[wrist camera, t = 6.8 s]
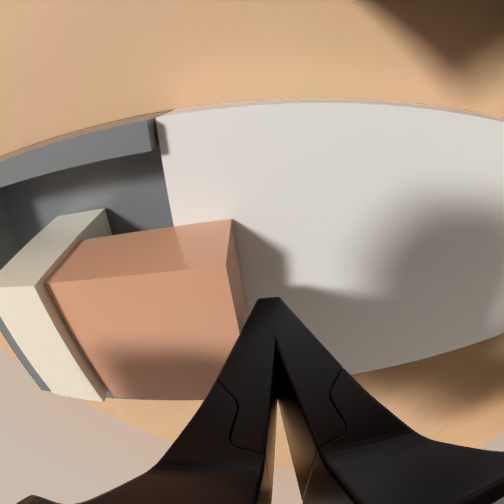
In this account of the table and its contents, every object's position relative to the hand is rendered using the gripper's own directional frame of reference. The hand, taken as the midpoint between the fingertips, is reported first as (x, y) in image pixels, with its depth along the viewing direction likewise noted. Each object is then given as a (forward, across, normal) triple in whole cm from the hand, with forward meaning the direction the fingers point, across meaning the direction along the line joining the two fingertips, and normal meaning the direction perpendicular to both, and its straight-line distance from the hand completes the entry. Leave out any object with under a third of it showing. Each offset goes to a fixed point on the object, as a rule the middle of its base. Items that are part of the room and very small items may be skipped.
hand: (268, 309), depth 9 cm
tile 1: (+1, +6, 0) cm, 6 cm away
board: (+4, -6, 0) cm, 7 cm away
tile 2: (+1, +3, 0) cm, 3 cm away
